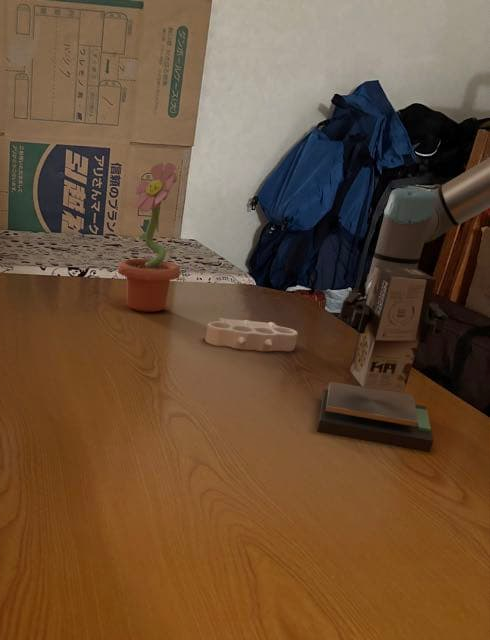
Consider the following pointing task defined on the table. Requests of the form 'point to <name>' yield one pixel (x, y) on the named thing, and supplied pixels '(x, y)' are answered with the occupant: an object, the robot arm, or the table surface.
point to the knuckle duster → (250, 335)
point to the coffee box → (392, 327)
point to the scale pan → (372, 404)
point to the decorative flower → (151, 274)
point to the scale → (378, 428)
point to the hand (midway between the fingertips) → (394, 328)
